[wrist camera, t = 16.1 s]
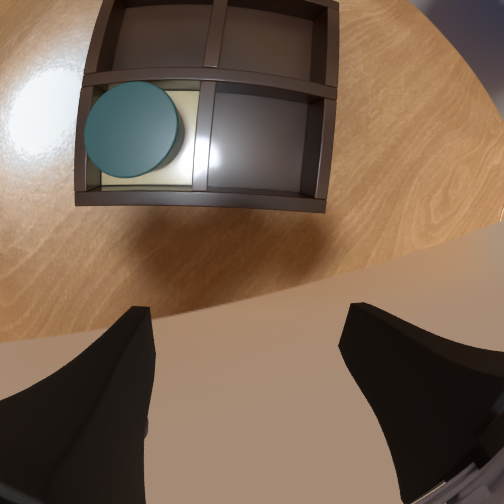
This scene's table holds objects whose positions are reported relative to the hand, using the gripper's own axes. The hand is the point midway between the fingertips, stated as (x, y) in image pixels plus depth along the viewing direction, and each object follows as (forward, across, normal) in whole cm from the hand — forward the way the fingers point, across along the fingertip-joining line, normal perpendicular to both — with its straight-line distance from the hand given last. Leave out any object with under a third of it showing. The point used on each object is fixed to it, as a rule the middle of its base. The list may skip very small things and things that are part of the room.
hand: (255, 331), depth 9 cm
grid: (+9, +2, -10) cm, 14 cm away
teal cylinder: (+9, +5, -7) cm, 12 cm away
